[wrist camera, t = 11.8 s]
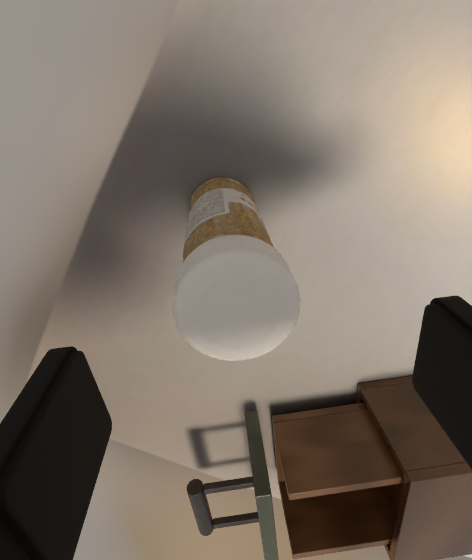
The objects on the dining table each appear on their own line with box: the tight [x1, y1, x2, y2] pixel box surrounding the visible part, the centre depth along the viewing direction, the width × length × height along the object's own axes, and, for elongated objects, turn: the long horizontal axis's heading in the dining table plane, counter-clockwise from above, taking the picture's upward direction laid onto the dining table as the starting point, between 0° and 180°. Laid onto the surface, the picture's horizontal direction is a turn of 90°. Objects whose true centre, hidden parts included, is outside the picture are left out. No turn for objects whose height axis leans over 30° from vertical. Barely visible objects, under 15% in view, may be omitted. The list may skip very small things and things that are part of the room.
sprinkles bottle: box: [173, 177, 300, 361], centre depth 18 cm, size 5×5×14 cm
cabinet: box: [356, 376, 472, 560], centre depth 31 cm, size 15×13×10 cm
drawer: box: [187, 403, 404, 560], centre depth 31 cm, size 19×11×8 cm, turn 96°
